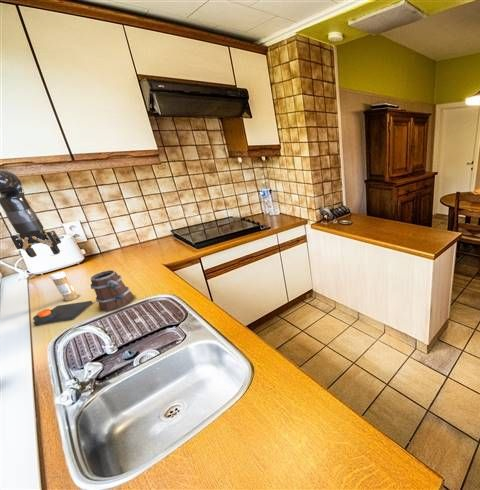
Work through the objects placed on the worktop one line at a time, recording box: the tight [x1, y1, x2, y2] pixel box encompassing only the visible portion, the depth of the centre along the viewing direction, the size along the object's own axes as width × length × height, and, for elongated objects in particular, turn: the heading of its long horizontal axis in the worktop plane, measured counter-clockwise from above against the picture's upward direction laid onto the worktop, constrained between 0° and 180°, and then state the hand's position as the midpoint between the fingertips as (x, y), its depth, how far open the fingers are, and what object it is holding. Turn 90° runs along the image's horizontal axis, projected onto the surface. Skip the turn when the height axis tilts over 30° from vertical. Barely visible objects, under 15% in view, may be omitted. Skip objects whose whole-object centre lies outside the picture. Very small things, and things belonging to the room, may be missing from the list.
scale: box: [32, 300, 93, 326], centre depth 114 cm, size 14×12×3 cm
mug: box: [90, 270, 135, 312], centre depth 116 cm, size 16×12×15 cm
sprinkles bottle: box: [49, 271, 79, 302], centre depth 123 cm, size 5×5×14 cm
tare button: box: [36, 308, 52, 318], centre depth 109 cm, size 4×4×2 cm
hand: (45, 255), depth 116 cm, fingers open, 8 cm apart
